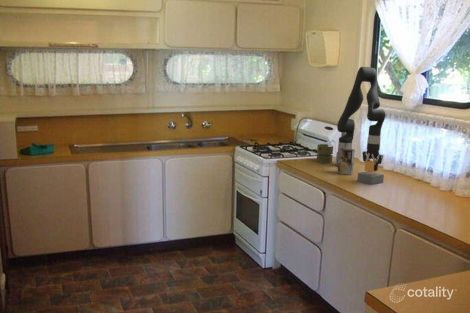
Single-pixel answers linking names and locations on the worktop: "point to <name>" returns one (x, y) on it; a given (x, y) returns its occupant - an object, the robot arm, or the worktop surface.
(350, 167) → the coffee box
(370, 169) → the orange matte cube
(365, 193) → the worktop surface
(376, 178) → the grey square block
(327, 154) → the piston
